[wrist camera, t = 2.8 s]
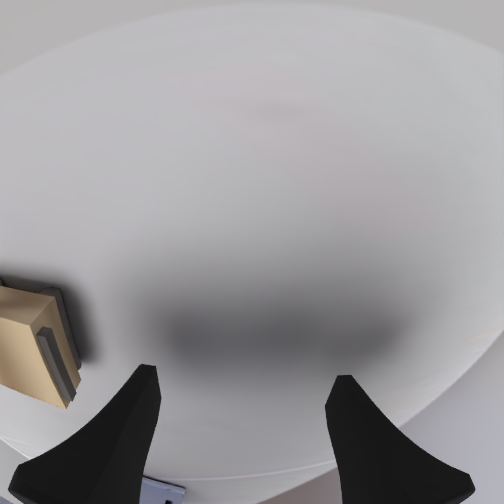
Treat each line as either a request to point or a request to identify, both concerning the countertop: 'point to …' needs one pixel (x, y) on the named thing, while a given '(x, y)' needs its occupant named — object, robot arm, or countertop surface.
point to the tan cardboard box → (37, 346)
